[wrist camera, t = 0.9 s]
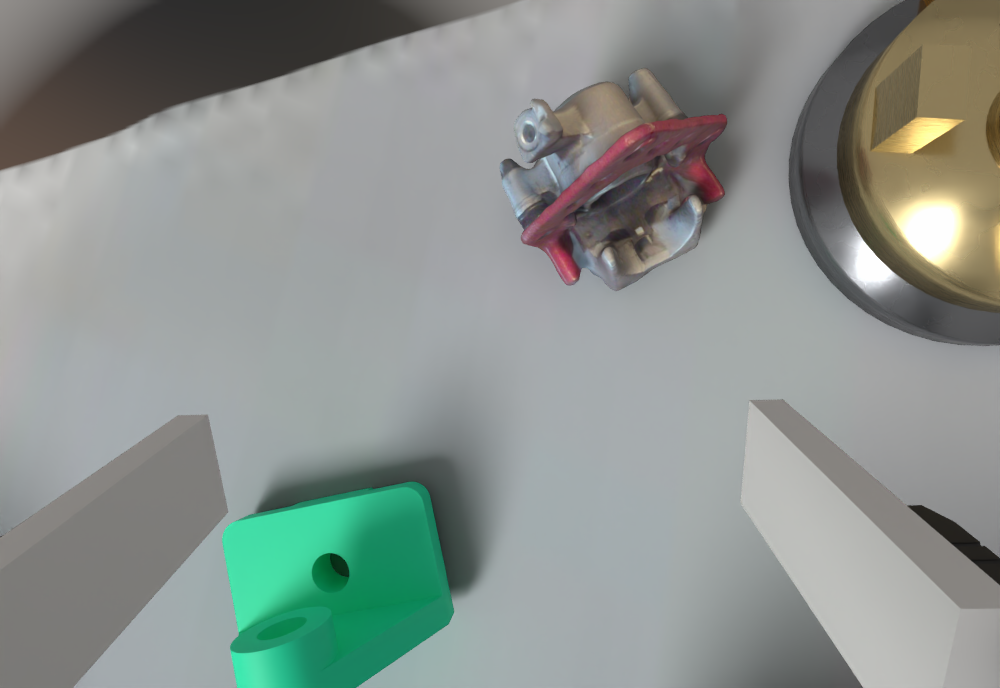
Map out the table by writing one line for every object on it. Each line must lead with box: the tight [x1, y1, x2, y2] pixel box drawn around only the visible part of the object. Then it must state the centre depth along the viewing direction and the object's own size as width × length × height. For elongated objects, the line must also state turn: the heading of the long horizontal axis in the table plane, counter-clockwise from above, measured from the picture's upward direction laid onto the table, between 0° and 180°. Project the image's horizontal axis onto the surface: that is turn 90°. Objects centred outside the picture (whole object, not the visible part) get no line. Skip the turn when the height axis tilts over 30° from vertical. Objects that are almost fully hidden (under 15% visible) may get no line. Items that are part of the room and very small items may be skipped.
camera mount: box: [222, 482, 454, 688], centre depth 29 cm, size 12×8×10 cm, turn 103°
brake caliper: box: [500, 68, 727, 291], centre depth 29 cm, size 11×11×12 cm
